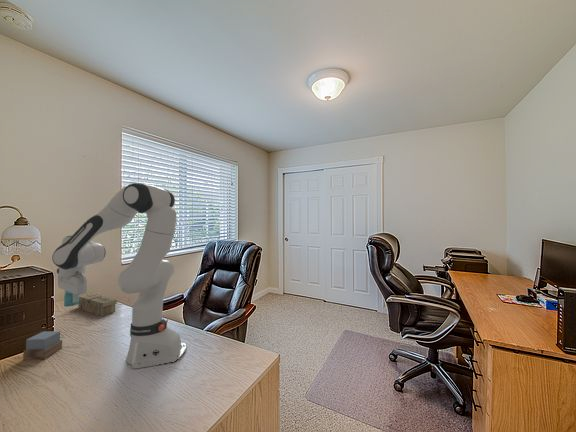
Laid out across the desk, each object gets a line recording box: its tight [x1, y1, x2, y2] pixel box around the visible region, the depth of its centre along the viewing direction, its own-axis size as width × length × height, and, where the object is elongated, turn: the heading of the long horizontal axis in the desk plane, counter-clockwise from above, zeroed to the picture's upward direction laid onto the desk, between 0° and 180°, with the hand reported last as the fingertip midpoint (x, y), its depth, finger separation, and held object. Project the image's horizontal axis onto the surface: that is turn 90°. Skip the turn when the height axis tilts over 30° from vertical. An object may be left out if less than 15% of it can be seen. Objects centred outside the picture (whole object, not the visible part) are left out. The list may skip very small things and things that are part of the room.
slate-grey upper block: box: [25, 330, 61, 350], centre depth 99 cm, size 7×7×4 cm
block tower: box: [77, 292, 118, 317], centre depth 147 cm, size 8×8×29 cm
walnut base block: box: [22, 339, 63, 361], centre depth 98 cm, size 8×8×4 cm
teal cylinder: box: [63, 292, 79, 307], centre depth 107 cm, size 5×5×5 cm
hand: (71, 300), depth 107 cm, fingers closed on teal cylinder, 5 cm apart
